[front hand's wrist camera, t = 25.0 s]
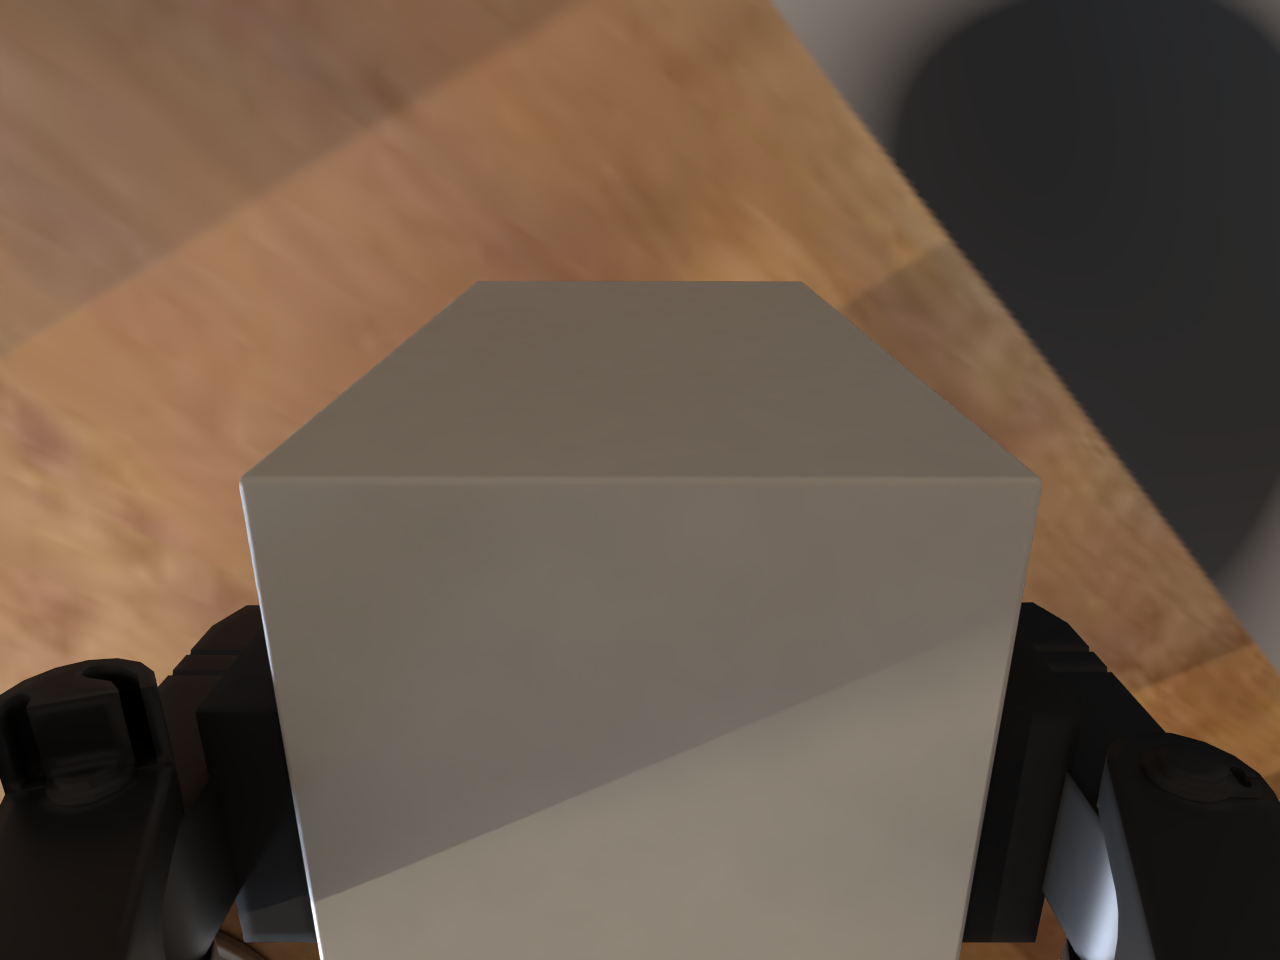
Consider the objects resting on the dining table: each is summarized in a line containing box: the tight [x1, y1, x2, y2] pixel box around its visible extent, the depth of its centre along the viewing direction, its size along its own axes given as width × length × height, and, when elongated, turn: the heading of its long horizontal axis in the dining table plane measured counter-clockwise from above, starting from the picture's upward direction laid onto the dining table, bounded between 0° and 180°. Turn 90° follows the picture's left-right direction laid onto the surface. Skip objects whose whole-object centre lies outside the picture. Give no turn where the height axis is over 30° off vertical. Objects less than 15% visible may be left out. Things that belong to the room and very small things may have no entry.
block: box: [239, 281, 1042, 960], centre depth 13 cm, size 7×6×11 cm
